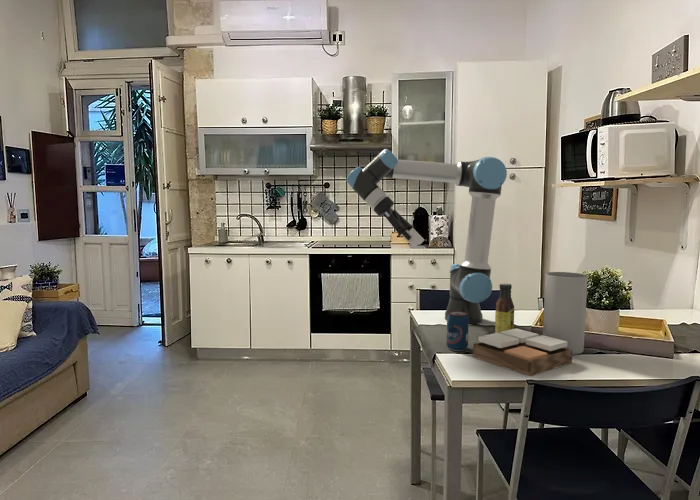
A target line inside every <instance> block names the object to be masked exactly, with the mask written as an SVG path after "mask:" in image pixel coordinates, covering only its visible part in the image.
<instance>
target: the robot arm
mask: <svg viewBox="0 0 700 500" xmlns="http://www.w3.org/2000/svg"><path fill="white" fill-rule="evenodd" d="M507 174H508V171H507V167H506V165H505V163H504V162H503V161H502V160H501V159H499V158H497V157H494V156H484V157H481V158H480V159H475V160H472V161H471V160H470V161H458V162H457V163H449V162H440V161H439V162H436V161H424V160H423V161H421V160H413V159H412V160H410V159H398V158H397V157H396V156H395V154H394V153H393V152H392V151H391V150H389V149H387V148H384V149H383V150H381V152H379V153H378V154H377V156H375V157H374V158H373V159H372V160H371V161H370V162H369V163H368V164H367V165H366V166H365V167H363V168H362V167H361V166H357V167H355V168H354V169H352V170H351V171H350V173H349V174H348V175H347V177H346V182H347V183H348V185H349V186H350V187H351V188H352V189H353V191H354V192H355V193H356V194H357V195H358V196H359V197H360V198H361V199H362V200H363V201H364V202H365V206H367V207H370V208H371V209H373V212H374V213H375V214H376V215H377V216H378V217H382V216H383V217H384V218H386V220H387V221H388V222H389V224H390V225H391V226H392V227H393V229H395V231H396V232H397V235H398V236H399V237H403V239H405V240H406V242H408V244H409V245H410V246H411V247H412V248H413V249H415V248H416V247H418V246H420V245H421V244H423V242H424V241H425V239H424V237H422V235H421V234H419V232H418V231H416V229H415V228H414V227H415V226H414V224H411V223H410V222H409V221H408V220H407V219H405V218H404V217H403V216H402V215H401V214H400V213H399V212H398V211H397V210H396V209H393V208H392V207H393V206H394V204H395V202H394V201H393V200H392V199H391V198H390V197H389V196H387V193H386V192H385V191H384V190H383V189H382V188H381V187H380V186H379V185H378V183H379V182H381V180H383V179H384V178H387V179H400V180H412V181H427V182H438V183H452V184H454V185H456V186H457V187H465V188H468V194H469V195H470V196H471V203H470V204H471V206H470V213H469V221H468V227H467V228H468V229H467V238H466V245H465V255H464V260H463V261H462V262H460V263H453V264H451V265H450V269H449V276H450V277H449V301H448V304H447V306H446V310H445V311H444V319H445V321H447V317H448V315H449V312H451V311H462V312H466V313H467V316H468V318H469V324H468V325H470V324H478V323H481V322H482V321H483V320H484V319H483V317H484V315H483V313H482V310H481V306H480V303H482V302H484V301H486V300H487V299H488V298H489V297H490V296H491V294H492V291H493V283H492V280H491V272H492V267H491V266H490V264H489V256H490V248H491V240H492V231H493V223H494V215H495V208H496V200H497V199H498V198H499V197H501V195H502V187H503V185H504V183H505V181H506V179H507V178H508V177H507Z"/></svg>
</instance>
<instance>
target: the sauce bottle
mask: <svg viewBox="0 0 700 500" xmlns="http://www.w3.org/2000/svg"><path fill="white" fill-rule="evenodd" d="M498 288H499V298H497V300H496V302H495V314H494V315H495V317H494V318H495V319H494V333H499V334H500V332H502V331H507V330H511V329H515V305H514V302H513V298H512V289H513V288H512V284H511V283H499V287H498Z"/></svg>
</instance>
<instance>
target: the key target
mask: <svg viewBox="0 0 700 500" xmlns="http://www.w3.org/2000/svg"><path fill="white" fill-rule="evenodd" d="M504 353H506V354H509V355H512V356H515V357H519V358H522V359H525V360H528V361H531V360H534V359H538V358H541V357H545V356H547V353H546V352H542V351H539V350H535V349H532V348H528V347H525V346H520V347H516V348H512V349H508V350H505V352H504Z"/></svg>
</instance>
